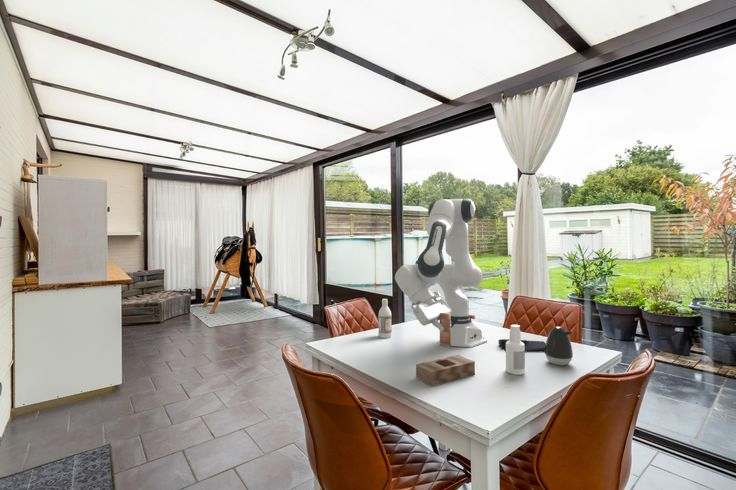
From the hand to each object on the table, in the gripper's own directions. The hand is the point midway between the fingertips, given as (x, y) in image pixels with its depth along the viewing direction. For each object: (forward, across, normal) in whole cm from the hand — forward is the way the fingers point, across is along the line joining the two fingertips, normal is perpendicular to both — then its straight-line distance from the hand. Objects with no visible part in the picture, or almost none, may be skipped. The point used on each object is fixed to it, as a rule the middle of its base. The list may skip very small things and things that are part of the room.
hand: (446, 328), depth 132 cm
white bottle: (+26, +20, 0) cm, 33 cm away
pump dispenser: (+34, +40, -9) cm, 54 cm away
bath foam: (-23, +30, +49) cm, 62 cm away
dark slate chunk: (+22, +54, +4) cm, 59 cm away
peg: (+4, 0, +5) cm, 6 cm away
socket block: (+12, 0, +13) cm, 18 cm away
